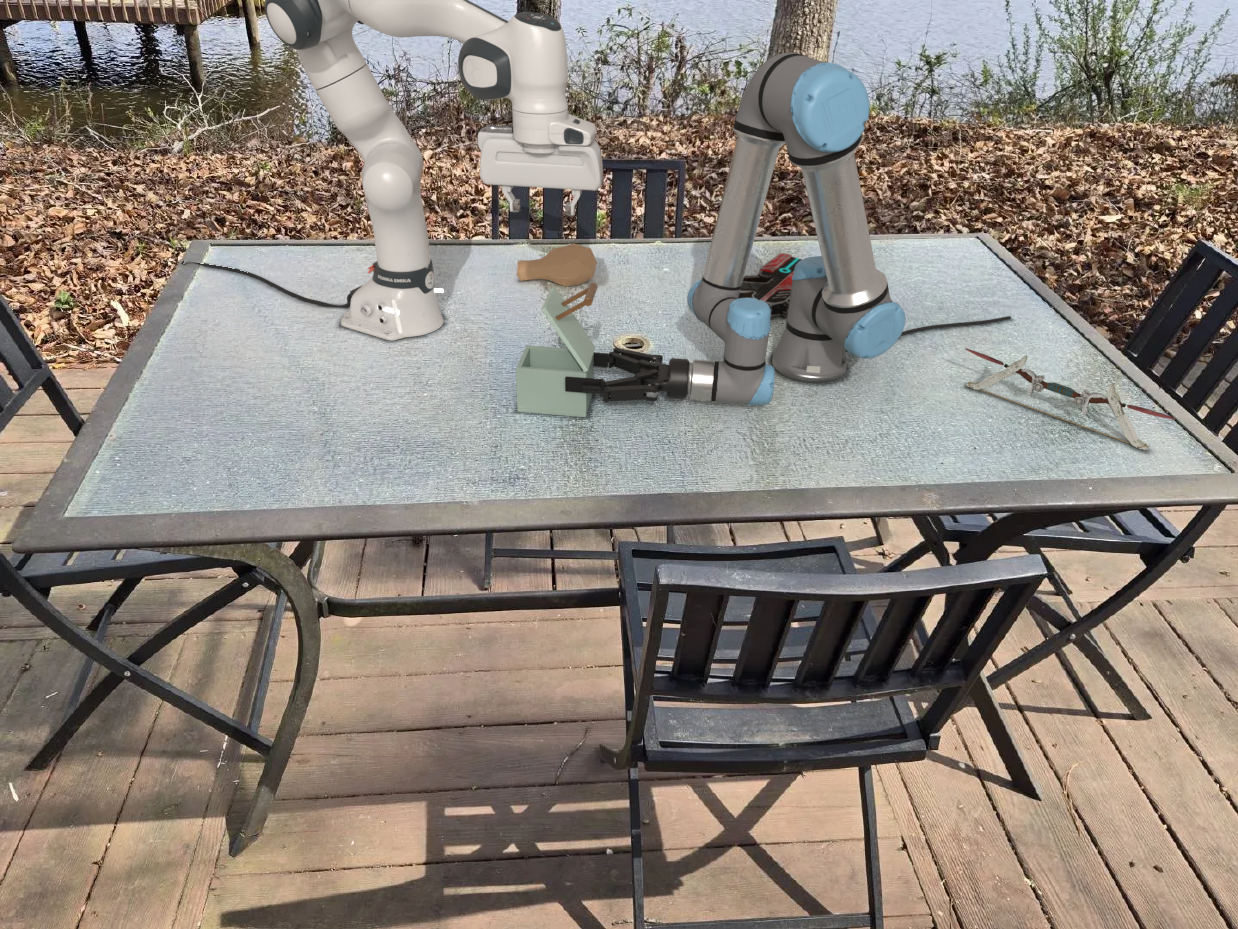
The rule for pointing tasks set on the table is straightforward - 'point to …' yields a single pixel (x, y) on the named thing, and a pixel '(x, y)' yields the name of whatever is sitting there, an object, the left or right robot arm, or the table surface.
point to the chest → (550, 382)
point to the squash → (561, 266)
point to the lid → (571, 323)
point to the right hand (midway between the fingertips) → (570, 370)
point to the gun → (772, 284)
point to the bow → (1079, 399)
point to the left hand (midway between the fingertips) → (542, 212)
